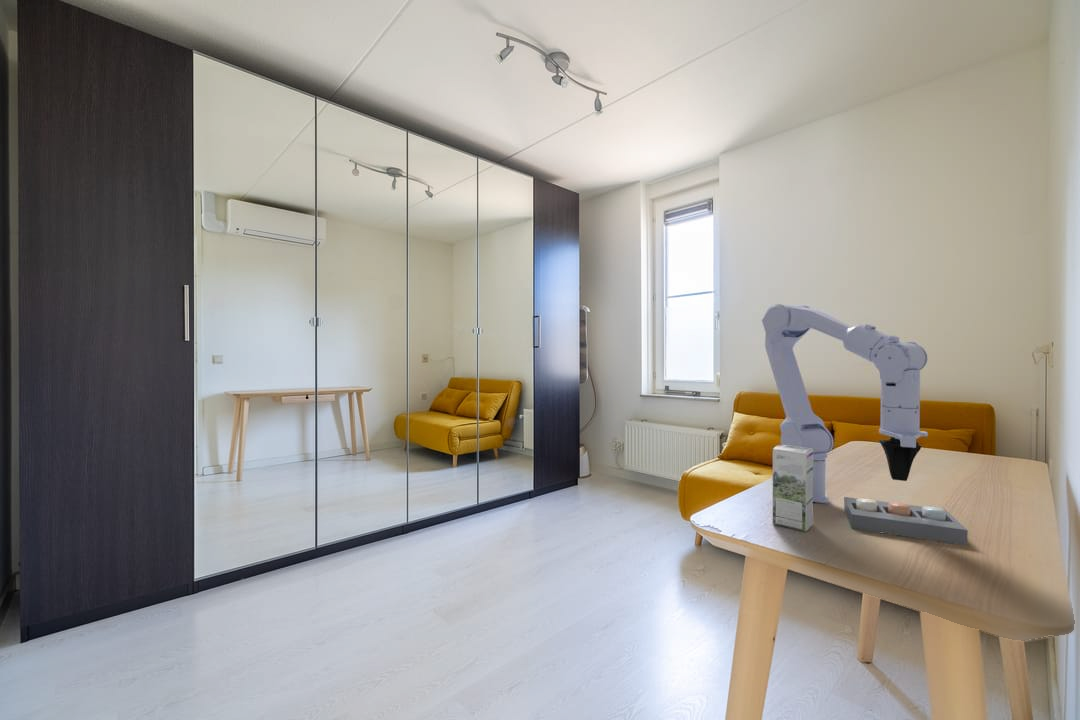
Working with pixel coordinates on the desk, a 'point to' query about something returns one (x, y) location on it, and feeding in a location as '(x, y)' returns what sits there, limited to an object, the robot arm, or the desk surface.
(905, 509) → the terracotta key
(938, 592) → the desk surface
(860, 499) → the ivory key
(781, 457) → the syrup box
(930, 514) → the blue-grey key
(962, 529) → the grey compartment tray
